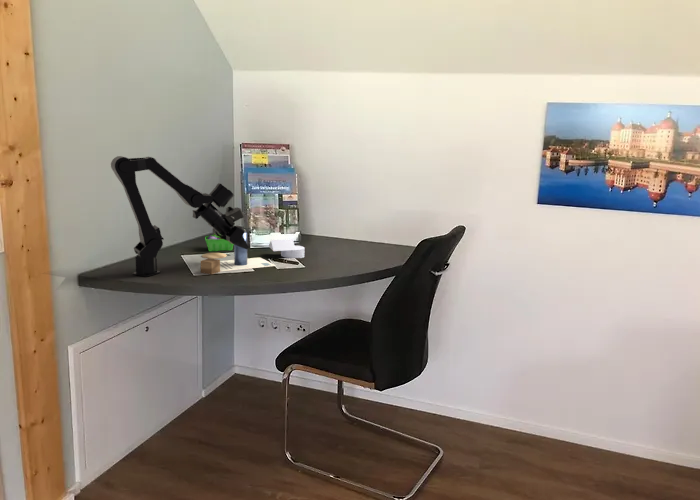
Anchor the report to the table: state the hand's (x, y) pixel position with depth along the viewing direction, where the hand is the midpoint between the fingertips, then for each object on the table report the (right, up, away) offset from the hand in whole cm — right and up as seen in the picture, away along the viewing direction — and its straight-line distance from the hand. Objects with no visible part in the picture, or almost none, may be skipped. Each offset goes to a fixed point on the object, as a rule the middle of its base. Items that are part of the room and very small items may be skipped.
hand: (244, 246), depth 223 cm
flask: (-1, -6, +1) cm, 6 cm away
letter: (-1, -7, +1) cm, 7 cm away
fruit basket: (-14, -1, +26) cm, 29 cm away
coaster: (-13, -4, +12) cm, 19 cm away
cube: (-9, -9, -12) cm, 18 cm away
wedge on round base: (+14, -4, +17) cm, 22 cm away
